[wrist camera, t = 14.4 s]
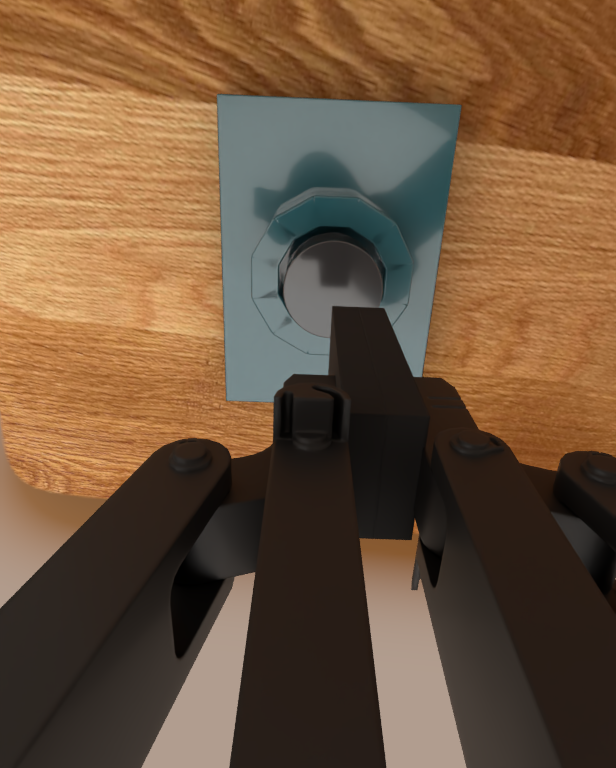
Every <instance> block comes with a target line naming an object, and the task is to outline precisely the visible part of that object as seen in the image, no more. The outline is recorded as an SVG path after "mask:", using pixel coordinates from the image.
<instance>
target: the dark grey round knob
mask: <svg viewBox="0 0 616 768" xmlns="http://www.w3.org/2000/svg"><path fill="white" fill-rule="evenodd" d="M382 294H383V283H382V277H381V274H380V271H379V268H378V266H377V265H376V263H375V261H374V259H373V257H372V255H371V253H370V252H369V250H368V249H367V248H366V247H365V246H364V245H363V244H362V243H361V242H360V241H358V240H357V239H355V238H353V237H352V236H349V235H347V234H343V233H337V232H327V233H321V234H318V235H315V236H313V237H310V238H309V239H307V240H305V241H304V242H303V243H302V244H300V245H299V246H298V247H297V248H296V250H295V251H294V252H293V254H292V255H291V257H290V259H289V262H288V264H287V268H286V273H285V278H284V285H283V296H284V302H285V305H286V308H287V310H288V312H289V314H290V316H291V317H292V319H293V320H294V321H295V322H296V323H297V324H298V325H299V326H300V327H301V328H302V329H304V330H305V331H307V332H309V333H311V334H313V335H316V336H319V337H323V338H330V334H331V317H332V306H348V307H373V308H379V306H380V303H381V300H382Z"/></svg>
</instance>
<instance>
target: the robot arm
mask: <svg viewBox="0 0 616 768" xmlns="http://www.w3.org/2000/svg"><path fill="white" fill-rule="evenodd" d="M414 520H416V523H417V527H418V531H419V539H418V545H417V552H416V558H415V564H414V570H413V576H412V589H411V590H417V589H418V583H419V580H420V579H421V580H422V584H423V588H424V592H425V597H426V601H427V605H428V609H429V613H430V618H431V621H432V626H433V629H434V634H435V638H436V642H437V647H438V651H439V655H440V659H441V663H442V667H443V671H444V676H445V680H446V684H447V687H448V692H449V696H450V700H451V705H452V709H453V713H454V717H455V721H456V725H457V730H458V734H459V738H460V742H461V746H462V750H463V754H464V758H465V763H466V767H467V768H616V580H615V578H616V458H615V457H613V456H612V455H610V454H606V453H602V452H601V453H599V452H596V451H575V452H571V453H567V454H565V455H564V456H563V458H562V459H561V460H560V463H559V467H558V470H557V471H552V470H547V469H543V468H538V467H533V466H529V465H525V464H522V463H519V462H518V460H517V458H516V457H515V455H514V454H513V452H512V451H511V449H510V447H509V446H508V445H507V444H506V443H505V442H504V441H503V440H501V439H500V438H498V437H496V436H494V435H492V434H490V433H487V432H484V431H481V430H479V429H478V427H477V425H476V424H475V422H474V420H473V418H472V417H471V415H470V413H469V411H468V410H467V409H466V406H465V404H464V403H463V401H462V400H461V397H460V396H459V394H458V392H457V390H456V389H455V387H453V386H452V385H450V384H449V383H448V382H446V381H445V380H443V379H442V378H430V377H413V375H412V372H411V370H410V367H409V365H408V363H407V360H406V358H405V356H404V353H403V351H402V349H401V346H400V344H399V341H398V339H397V337H396V334H395V332H394V330H393V327H392V325H391V323H390V320H389V318H388V315H387V313H386V311H385V308H373V307H348V306H332V317H331V334H330V352H329V369H328V375H311V374H293V375H292V376H291V377H289V378H288V379H287V380H286V381H285V382H284V384H283V388H281V389H280V390H278V391H277V392H276V394H275V396H274V421H273V444H272V445H271V446H270V447H268V448H267V449H265V450H264V451H262V452H259V453H256V454H254V455H250V456H245V457H240V458H234V459H231V456H230V453H229V451H228V449H227V448H226V447H224V446H223V445H221V444H220V443H218V442H214V441H211V440H208V439H197V438H189V439H182V440H178V441H175V442H172V443H170V444H167V445H164V446H163V447H161V448H160V449H158V450H157V451H155V452H154V453H153V454H152V455H151V456H150V457H149V458H148V459H147V460H146V461H145V462H144V463H143V464H142V465H141V466H140V467H139V468H138V469H137V470H136V471H135V472H134V473H133V474H132V475H131V476H130V477H129V478H128V479H127V480H126V481H125V482H124V483H123V484H122V485H121V487H120V488H119V489H118V490H117V491H116V492H115V493H114V494H113V495H112V496H111V497H110V498H109V499H108V500H107V501H106V502H105V503H104V504H103V505H102V506H101V507H100V508H99V509H98V510H97V511H96V512H95V513H94V514H93V515H92V516H91V517H90V518H89V519H88V520H87V521H86V522H85V523H84V524H83V525H82V526H81V527H80V528H79V529H78V530H77V531H76V532H75V533H74V534H73V535H72V536H71V537H70V538H69V539H68V540H67V542H65V543H64V544H63V545H62V546H61V547H60V548H59V549H58V550H57V551H56V552H55V554H54V555H53V556H52V557H51V558H50V559H49V560H48V561H47V562H46V563H45V564H44V565H43V566H42V567H41V568H40V569H39V570H38V571H37V572H36V573H35V574H34V575H33V576H32V577H31V578H30V579H29V580H28V581H27V582H26V583H25V584H24V585H23V586H22V587H21V588H20V589H19V590H18V591H17V592H16V593H15V594H14V595H13V596H12V597H11V598H10V599H9V600H8V601H7V602H6V603H5V604H4V605H3V606H2V607H1V608H0V768H141V767H142V765H143V763H144V761H145V759H146V757H147V755H148V753H149V751H150V749H151V747H152V745H153V743H154V741H155V739H156V737H157V735H158V733H159V731H160V729H161V727H162V725H163V723H164V721H165V719H166V717H167V716H168V713H169V712H170V709H171V708H172V706H173V704H174V702H175V700H176V698H177V696H178V694H179V692H180V690H181V688H182V686H183V684H184V682H185V680H186V678H187V676H188V674H189V672H190V670H191V668H192V666H193V664H194V662H195V660H196V658H197V656H198V654H199V652H200V650H201V648H202V646H203V644H204V642H205V640H206V638H207V636H208V634H209V632H210V630H211V628H212V626H213V624H214V622H215V620H216V618H217V616H218V614H219V612H220V610H221V608H222V606H223V605H224V603H225V601H226V598H227V596H228V595H229V593H230V590H231V589H232V586H233V581H234V577H235V576H239V575H244V574H248V573H253V572H255V580H254V588H253V595H252V603H251V611H250V617H249V625H248V632H247V640H246V648H245V655H244V662H243V670H242V677H241V685H240V692H239V700H238V707H237V715H236V723H235V730H234V737H233V745H232V752H231V760H230V767H229V768H386V760H385V752H384V743H383V735H382V726H381V719H380V710H379V701H378V693H377V685H376V676H375V667H374V659H373V650H372V642H371V633H370V624H369V616H368V607H367V599H366V591H365V582H364V574H363V565H362V557H361V548H360V539H359V538H368V539H396V540H412V533H413V527H414Z"/></svg>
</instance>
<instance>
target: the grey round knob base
mask: <svg viewBox="0 0 616 768" xmlns="http://www.w3.org/2000/svg"><path fill="white" fill-rule="evenodd" d="M461 107H462V106H461V105H458V104H436V103H413V102H391V101H369V100H346V99H324V98H301V97H279V96H257V95H234V94H217V119H218V151H219V184H220V217H221V250H222V283H223V316H224V348H225V381H226V401H247V402H274V396H275V394H276V392H277V391H278V390H280V389H281V388H283V384H284V382H285V381H286V380H287V379H288V378H289V377H291V376H292V375H293V374H311V375H328V369H329V352H330V338H323V337H319V336H316V335H313V334H311V333H309V332H307V331H305V330H304V329H302V328H301V327H300V326H299V325H298V324H297V323H296V322H295V321H294V320H293V319H292V317H291V316H290V314H289V312H288V310H287V308H286V305H285V302H284V296H283V285H284V278H285V273H286V268H287V264H288V262H289V259H290V257H291V255H292V254H293V252H294V251H295V250H296V248H297V247H298V246H299V245H300V244H302V243H303V242H304V241H305V240H307V239H309V238H310V237H313V236H315V235H318V234H321V233H327V232H337V233H343V234H347V235H349V236H352V237H353V238H355V239H357V240H358V241H360V242H361V243H362V244H363V245H364V246H365V247H366V248H367V249H368V250H369V252H370V253H371V255H372V257H373V259H374V261H375V263H376V265H377V266H378V268H379V271H380V274H381V277H382V283H383V294H382V300H381V303H380V306H379V308H385V311H386V313H387V315H388V318H389V320H390V323H391V325H392V327H393V330H394V332H395V334H396V337H397V339H398V341H399V344H400V346H401V349H402V351H403V353H404V356H405V358H406V360H407V363H408V365H409V367H410V370H411V372H412V375H413V377H422V375H423V368H424V361H425V354H426V347H427V341H428V334H429V327H430V320H431V313H432V306H433V299H434V292H435V286H436V279H437V272H438V265H439V258H440V251H441V244H442V237H443V231H444V224H445V217H446V210H447V203H448V196H449V189H450V182H451V175H452V169H453V162H454V155H455V148H456V141H457V134H458V127H459V120H460V114H461Z"/></svg>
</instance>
